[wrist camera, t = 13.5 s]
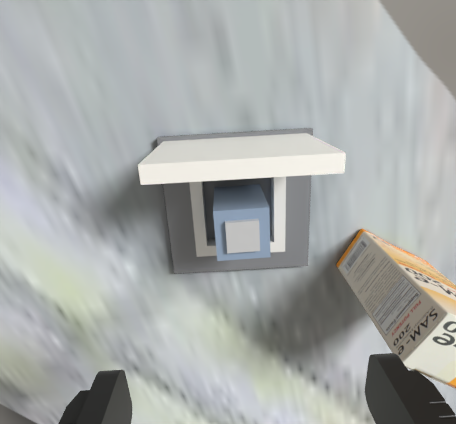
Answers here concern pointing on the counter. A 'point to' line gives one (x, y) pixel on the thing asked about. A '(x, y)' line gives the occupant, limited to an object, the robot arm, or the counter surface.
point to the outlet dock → (236, 176)
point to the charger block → (241, 222)
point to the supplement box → (405, 304)
